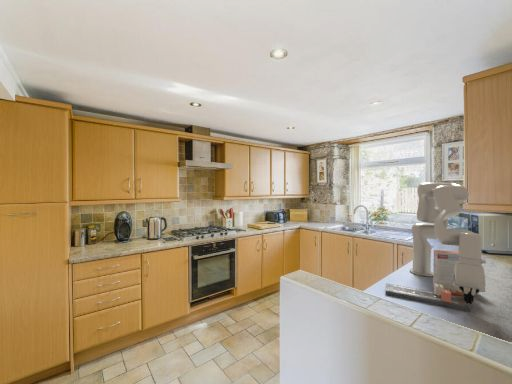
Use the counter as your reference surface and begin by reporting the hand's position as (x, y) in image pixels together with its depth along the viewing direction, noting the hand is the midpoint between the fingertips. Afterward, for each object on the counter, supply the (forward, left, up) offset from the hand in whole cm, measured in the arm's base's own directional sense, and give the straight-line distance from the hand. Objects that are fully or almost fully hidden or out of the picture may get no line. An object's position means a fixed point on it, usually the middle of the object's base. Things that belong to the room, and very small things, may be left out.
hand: (468, 302), depth 104 cm
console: (-4, -16, -3) cm, 16 cm away
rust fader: (0, -8, -1) cm, 8 cm away
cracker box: (-19, -3, -3) cm, 19 cm away
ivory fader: (-7, -9, -1) cm, 12 cm away
